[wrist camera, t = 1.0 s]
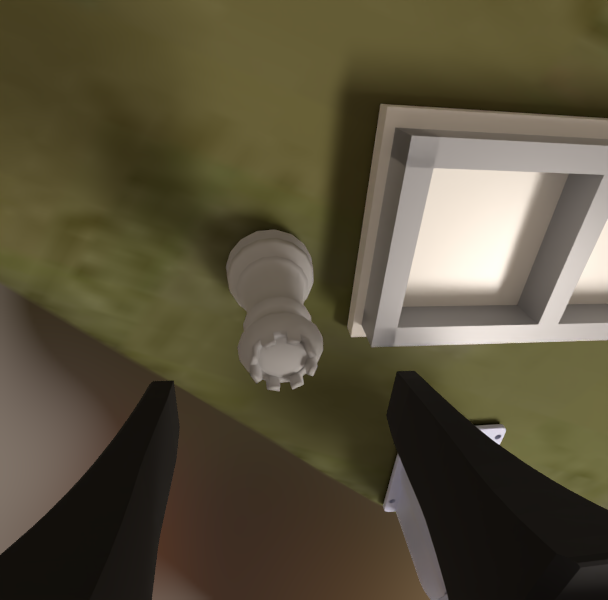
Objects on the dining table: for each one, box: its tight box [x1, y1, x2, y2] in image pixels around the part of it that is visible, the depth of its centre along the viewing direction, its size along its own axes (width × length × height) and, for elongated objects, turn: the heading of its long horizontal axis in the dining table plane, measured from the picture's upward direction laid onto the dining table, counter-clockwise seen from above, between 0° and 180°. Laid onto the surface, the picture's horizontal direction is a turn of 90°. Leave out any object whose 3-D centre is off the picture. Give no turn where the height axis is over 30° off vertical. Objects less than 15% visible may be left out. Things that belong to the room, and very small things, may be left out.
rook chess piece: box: [226, 230, 323, 391], centre depth 18 cm, size 4×4×8 cm
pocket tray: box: [347, 104, 608, 347], centre depth 21 cm, size 12×21×3 cm, turn 86°
